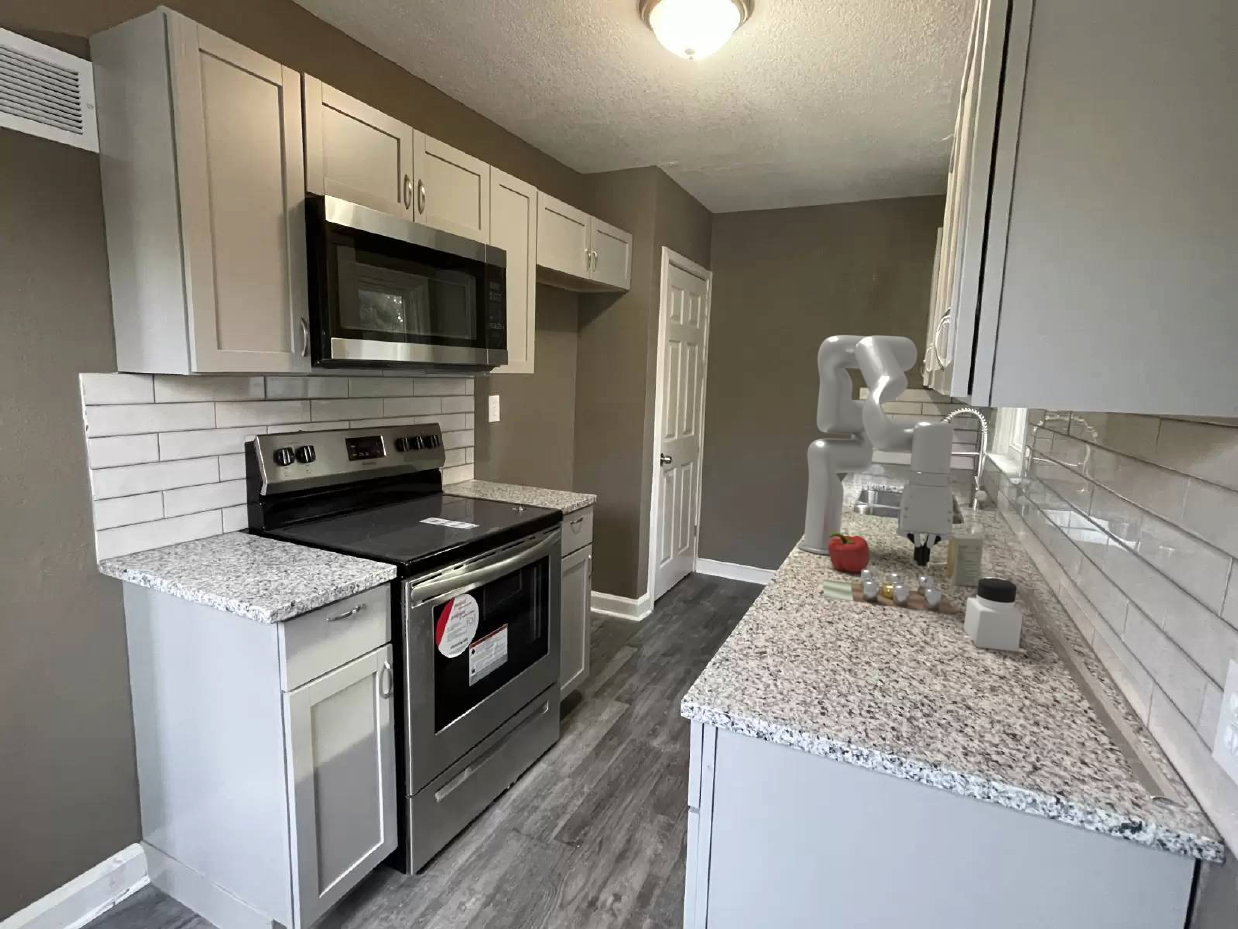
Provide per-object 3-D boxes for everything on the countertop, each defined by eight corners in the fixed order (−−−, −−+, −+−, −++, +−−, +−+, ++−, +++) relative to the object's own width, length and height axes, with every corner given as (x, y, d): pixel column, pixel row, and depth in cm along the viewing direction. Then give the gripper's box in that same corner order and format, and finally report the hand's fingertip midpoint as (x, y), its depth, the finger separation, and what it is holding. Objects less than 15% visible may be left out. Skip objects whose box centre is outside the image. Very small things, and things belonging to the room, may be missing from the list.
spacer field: (859, 584, 145) (861, 567, 144) (930, 593, 140) (932, 576, 140) (863, 601, 133) (864, 583, 133) (940, 611, 129) (942, 593, 128)
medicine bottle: (1019, 652, 112) (1027, 588, 110) (975, 647, 113) (983, 584, 112) (1003, 637, 119) (1011, 576, 117) (962, 632, 120) (969, 572, 119)
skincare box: (970, 583, 151) (976, 534, 150) (979, 589, 147) (985, 539, 146) (943, 581, 152) (948, 532, 150) (950, 587, 148) (956, 537, 146)
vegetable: (834, 578, 152) (838, 538, 150) (816, 565, 162) (819, 527, 160) (877, 578, 153) (881, 538, 152) (855, 565, 163) (859, 528, 162)
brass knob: (880, 592, 140) (881, 581, 140) (902, 595, 139) (903, 583, 138) (882, 598, 136) (883, 587, 135) (905, 601, 134) (906, 590, 134)
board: (823, 582, 148) (823, 579, 148) (944, 598, 140) (945, 594, 140) (823, 600, 135) (823, 596, 135) (956, 618, 128) (957, 614, 128)
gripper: (964, 480, 133) (956, 564, 135) (888, 475, 138) (881, 556, 140) (972, 485, 126) (963, 573, 128) (892, 479, 131) (885, 565, 133)
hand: (920, 564), depth 134 cm, fingers closed
